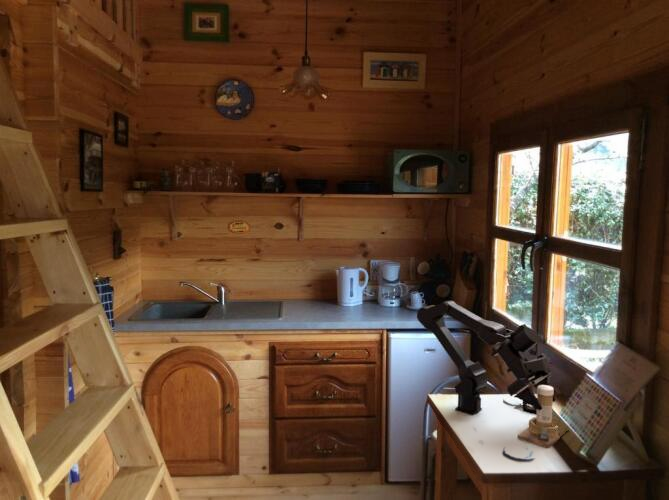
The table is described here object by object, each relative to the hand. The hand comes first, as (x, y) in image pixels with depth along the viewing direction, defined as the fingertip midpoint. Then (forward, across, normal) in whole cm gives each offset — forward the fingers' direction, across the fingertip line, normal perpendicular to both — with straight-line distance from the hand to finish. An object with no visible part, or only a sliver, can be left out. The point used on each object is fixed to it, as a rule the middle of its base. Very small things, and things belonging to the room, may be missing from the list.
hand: (548, 405), depth 164 cm
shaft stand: (+6, 0, +7) cm, 9 cm away
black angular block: (-2, +15, +15) cm, 22 cm away
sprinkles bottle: (+5, 0, +6) cm, 8 cm away
